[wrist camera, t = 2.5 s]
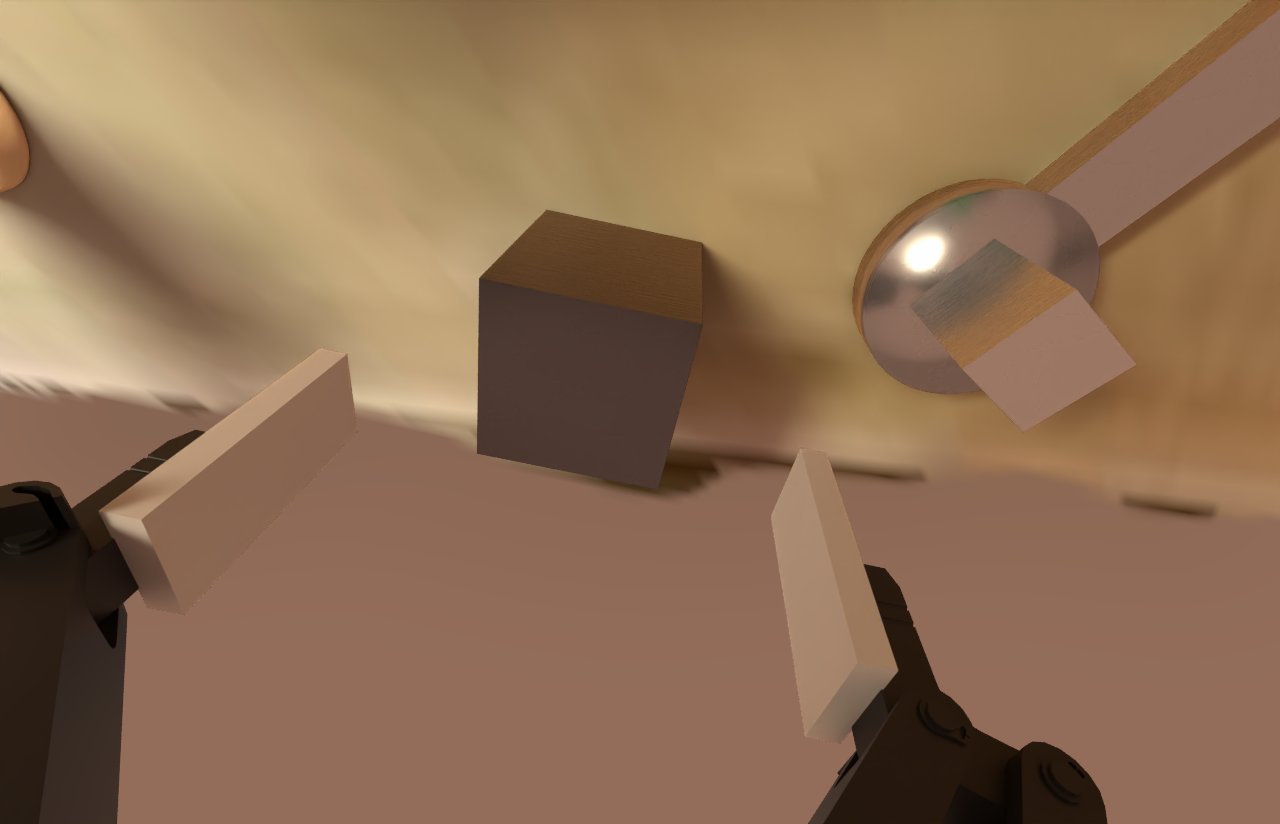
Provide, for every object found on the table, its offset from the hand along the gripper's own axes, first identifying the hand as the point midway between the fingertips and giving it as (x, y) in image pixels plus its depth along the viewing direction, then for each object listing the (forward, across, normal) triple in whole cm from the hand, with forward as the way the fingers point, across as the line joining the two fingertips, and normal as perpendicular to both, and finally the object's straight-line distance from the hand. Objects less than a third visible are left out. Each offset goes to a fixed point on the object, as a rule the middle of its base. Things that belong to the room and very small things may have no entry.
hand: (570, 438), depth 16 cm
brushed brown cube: (+10, 0, +1) cm, 10 cm away
